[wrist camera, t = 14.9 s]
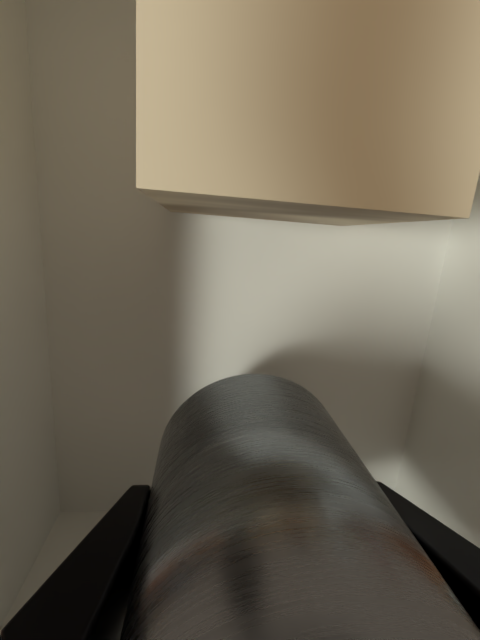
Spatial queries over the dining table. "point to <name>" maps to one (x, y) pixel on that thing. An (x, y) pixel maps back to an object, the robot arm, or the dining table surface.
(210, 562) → the metal cylinder
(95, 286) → the tote
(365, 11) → the wood cube
